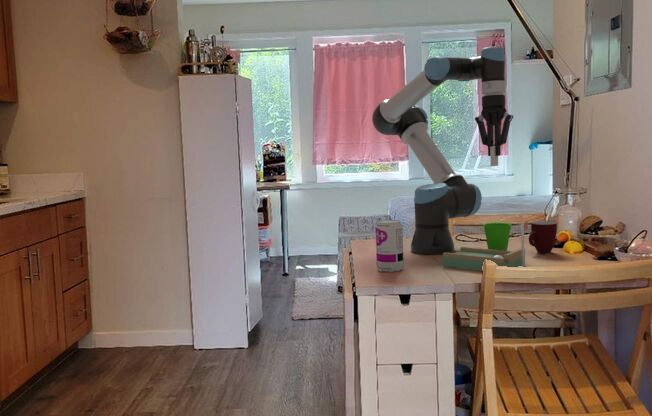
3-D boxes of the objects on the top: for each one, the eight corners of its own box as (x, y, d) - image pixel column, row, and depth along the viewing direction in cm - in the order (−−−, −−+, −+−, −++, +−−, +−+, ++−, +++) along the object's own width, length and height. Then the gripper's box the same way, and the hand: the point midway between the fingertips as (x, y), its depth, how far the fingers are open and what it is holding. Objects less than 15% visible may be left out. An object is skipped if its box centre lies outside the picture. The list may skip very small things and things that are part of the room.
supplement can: (385, 273, 176) (383, 224, 175) (372, 268, 184) (370, 221, 182) (408, 270, 180) (407, 221, 178) (395, 265, 187) (393, 218, 185)
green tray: (443, 266, 183) (442, 249, 183) (462, 259, 192) (461, 243, 191) (507, 273, 169) (507, 255, 169) (525, 266, 178) (524, 248, 178)
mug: (542, 256, 191) (542, 226, 190) (521, 253, 197) (521, 224, 196) (561, 252, 197) (561, 222, 196) (540, 249, 203) (540, 220, 202)
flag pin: (518, 270, 173) (518, 222, 172) (524, 267, 177) (523, 221, 175) (525, 270, 172) (524, 223, 171) (530, 268, 175) (530, 221, 174)
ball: (491, 271, 176) (486, 258, 177) (496, 268, 179) (492, 256, 180) (503, 267, 174) (499, 254, 174) (508, 265, 177) (504, 252, 177)
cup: (497, 261, 186) (496, 227, 185) (477, 257, 194) (476, 224, 193) (518, 258, 190) (518, 224, 189) (498, 254, 198) (497, 221, 197)
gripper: (470, 96, 198) (471, 166, 201) (507, 92, 189) (508, 166, 192) (480, 96, 204) (481, 165, 206) (517, 93, 195) (517, 165, 198)
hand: (494, 165), depth 199 cm, fingers closed
